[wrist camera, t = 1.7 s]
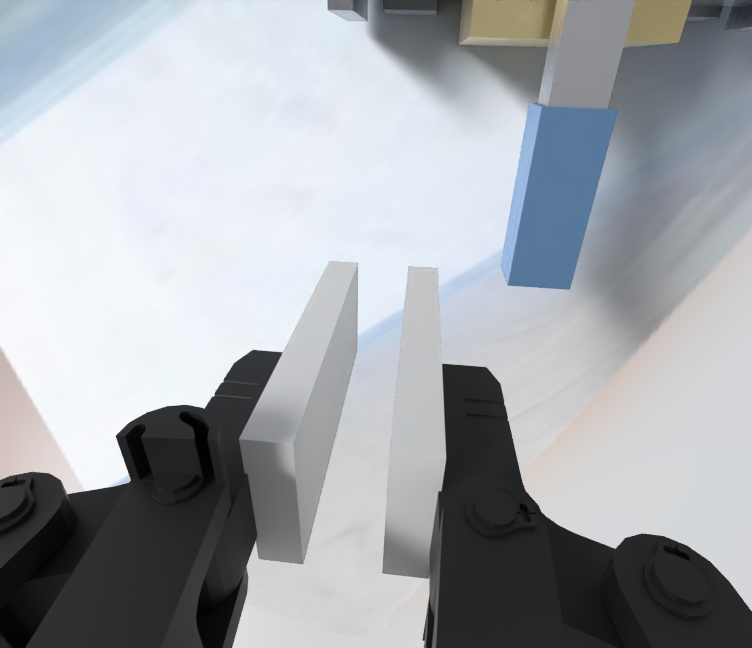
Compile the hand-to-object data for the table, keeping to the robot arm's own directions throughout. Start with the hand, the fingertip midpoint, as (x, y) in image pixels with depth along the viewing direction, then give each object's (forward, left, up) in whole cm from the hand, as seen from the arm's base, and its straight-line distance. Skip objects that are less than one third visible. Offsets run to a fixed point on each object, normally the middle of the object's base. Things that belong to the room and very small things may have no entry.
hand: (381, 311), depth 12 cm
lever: (-5, +7, -13) cm, 16 cm away
